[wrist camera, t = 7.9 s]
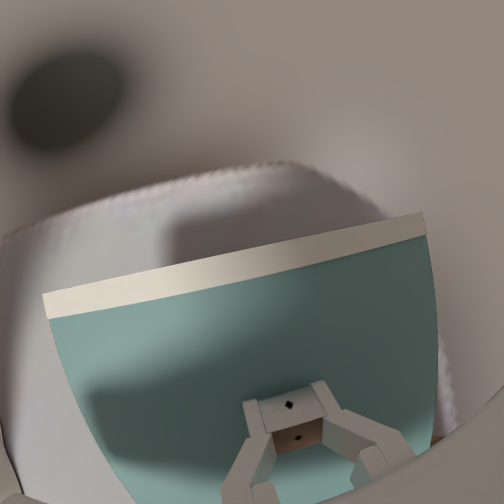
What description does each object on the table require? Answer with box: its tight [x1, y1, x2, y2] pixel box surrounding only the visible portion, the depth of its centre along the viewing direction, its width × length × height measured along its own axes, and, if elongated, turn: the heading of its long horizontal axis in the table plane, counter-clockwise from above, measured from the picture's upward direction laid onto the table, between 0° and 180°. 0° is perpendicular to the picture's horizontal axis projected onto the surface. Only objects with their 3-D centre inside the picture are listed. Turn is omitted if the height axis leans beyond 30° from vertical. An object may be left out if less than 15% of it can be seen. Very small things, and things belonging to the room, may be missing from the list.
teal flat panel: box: [42, 212, 438, 504], centre depth 10 cm, size 16×1×14 cm
